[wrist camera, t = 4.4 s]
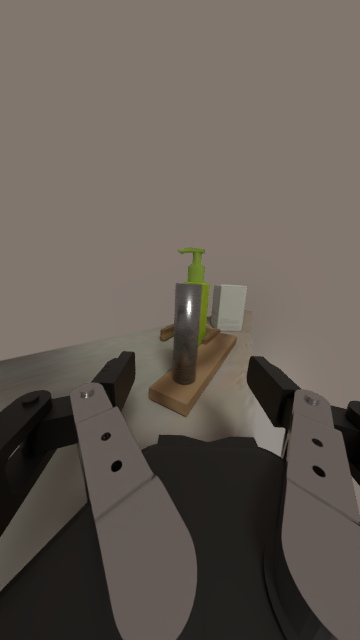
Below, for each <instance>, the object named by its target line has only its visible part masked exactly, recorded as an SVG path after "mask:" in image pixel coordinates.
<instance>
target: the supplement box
mask: <svg viewBox="0 0 360 640" xmlns="http://www.w3.org/2000/svg"><path fill="white" fill-rule="evenodd" d="M246 291H247V287H246V286H238V285H214V293H213V304H212V305H213V306H212V316H211V325H212V326H213V327H214V328H218V329H220V331H241V329H242V322H243V314H244V307H245V299H246Z"/></svg>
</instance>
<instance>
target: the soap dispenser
mask: <svg viewBox="0 0 360 640" xmlns="http://www.w3.org/2000/svg"><path fill="white" fill-rule="evenodd" d="M178 252H179V253H181V254H182V253H190V252H191V253H193V264H191V266H189V267H188V282H184V283H188V284H202V298H201V312H200V325H199V339H198V346H199V345H201V344H202V339H203V338H204V337H205V332H206V320H207V308H208V296H209V284H207V283H204V270H205V267H204V266H202V265H201V254H202V253H205V250H204V249H199V248H185V249H181V250H178Z"/></svg>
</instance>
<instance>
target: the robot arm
mask: <svg viewBox="0 0 360 640" xmlns="http://www.w3.org/2000/svg"><path fill="white" fill-rule="evenodd" d="M134 380H135V353H134V352H127V351H123V352H122V353H121V354H120V356H119V357H118V358H114V359H112V360H110V361H109V362H107V364H106V365H105V366H104V367H103V368H102V370H101V371H100V372H99V373H98V374H97V376H96V377H95V378H94V379H93V380H92V382H91V383H87V384H83V385H81V386H79V387H77V388H76V389H74V390H73V391H72V393H71V395H70V396H66V397H61V398H55V399H52V398H51V393H50V392H49V391H45V390H40V391H34V392H31V393H28V394H25V395H23V396H21V397H19V398H18V399H16V400H15V401H14V402H12V403H11V404H10V405H9V406H7V407H6V408H5V409H4V410H2V411H1V412H0V537H1V535H2V534H3V532H4V531H5V529H6V527H7V526H8V524H9V523H10V521H11V520H12V518H13V517H14V515H15V513H16V512H17V510H18V509H19V507H20V506H21V504H22V503H23V501H24V499H25V498H26V496H27V495H28V493H29V492H30V490H31V489H32V487H33V485H34V484H35V482H36V481H37V479H38V478H39V476H40V475H41V473H42V471H43V470H44V468H45V467H46V465H47V464H48V462H49V461H50V459H51V458H52V456H53V454H54V453H55V451H56V450H57V448H61V447H65V446H68V445H72V444H76V443H77V446H78V451H79V457H80V463H81V468H82V474H83V480H84V485H85V492H86V498H87V503H86V504H85V505H84V506H83V507H82V508H81V509H80V510H79V511H78V512H77V513H76V514H75V515H74V517H73V518H72V519H71V520H70V521H69V522H68V523H67V524H66V525H65V526H64V527H63V528H62V529H61V530H60V531H59V532H58V533H57V534H56V535H55V536H54V537H53V538H52V539H51V540H50V541H49V542H48V543H47V544H46V545H45V546H44V547H43V548H42V549H41V550H40V551H39V552H38V553H37V554H36V555H35V556H34V557H33V559H32V560H31V561H30V562H29V563H28V564H27V565H26V566H25V567H24V568H23V569H22V570H21V571H20V572H19V573H18V574H17V575H16V576H15V577H14V578H13V579H12V580H11V581H10V582H9V583H8V584H7V585H6V586H5V587H4V588H3V589H2V590H1V591H0V640H360V515H359V510H358V505H357V501H356V496H355V492H354V487H353V482H352V477H353V478H354V479H355V481H356V482H357V483H358V484H359V485H360V402H359V401H350V402H349V404H348V407H347V409H344V408H339V407H335V406H331V405H330V403H329V402H328V401H327V400H326V399H325V398H323V397H322V396H320V395H319V394H317V393H314V392H312V391H308V390H303V389H301V388H300V387H299V386H297V385H296V384H295V383H294V382H293V381H292V380H291V379H290V378H288V376H287V375H286V374H284V373H283V372H282V371H281V370H280V369H279V368H278V367H276V366H274V365H272V364H270V363H269V362H268V361H267V360H266V359H265V358H264V357H261V356H259V357H258V356H251V357H250V360H249V366H248V372H247V383H248V386H249V387H250V389H251V391H252V392H253V394H254V395H255V397H256V399H257V400H258V402H259V403H260V405H261V407H262V408H263V410H264V411H265V413H266V414H267V416H268V418H269V419H270V420H271V422H272V424H273V426H274V427H283V428H285V429H286V430H285V434H284V439H283V445H282V451H281V457H279V456H277V455H276V454H274V453H272V452H270V451H268V450H266V449H263V448H260V447H258V445H257V443H256V441H255V439H254V438H253V437H228V438H224V439H220V440H216V441H212V442H204V441H201V440H197V439H193V438H190V437H186V436H182V435H159V438H158V444H154V445H151V446H148V447H146V448H144V449H142V450H140V448H139V446H138V444H137V442H136V441H135V439H134V437H133V435H132V433H131V431H130V429H129V427H128V425H127V423H126V421H125V420H124V418H123V416H122V414H121V411H122V408H123V406H124V404H125V401H126V399H127V397H128V394H129V392H130V390H131V387H132V385H133V383H134ZM19 445H20V447H19V448H18V449H17V450H16V452H15V453H14V454H13V455H12V456H11V457H10V455H11V454H12V453H13V451H14V450H15V449H16V448H17V447H18V446H19ZM9 457H10V458H9ZM8 458H9V460H8ZM351 476H352V477H351Z"/></svg>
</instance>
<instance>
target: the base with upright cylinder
mask: <svg viewBox="0 0 360 640" xmlns="http://www.w3.org/2000/svg"><path fill="white" fill-rule="evenodd" d="M201 298H202V284H188V283H177V284H176V289H175V320H174V324H173V325H171V326H168V327H166V328H164V329H161V339H160V340H162V341H165V340H167V339H169V338H171V337H173V336H174V351H173V368H172V369H171V370H170V371H169V372H168V373H166V374H165V375H164V376H163V377H162V378H160V379H159V380H158V381H157V382H156V383H154V384H153V385H152V386H151V387H150V388H149V399H151V400H153V401H155V402H157V403H159V404H161V405H163V406H165V407H167V408H169V409H172V410H174V411H176V412H178V413H180V414H182V415H184V416H186V417H187V415H188V414H189V412H190V411H191V409H192V408H193V406H194V405H195V403H196V402H197V400H198V399H199V397H200V396H201V394H202V393H203V391H204V390H205V388H206V387H207V385H208V384H209V382H210V381H211V379H212V378H213V376H214V375H215V373H216V372H217V370H218V369H219V367H220V366H221V364H222V363H223V361H224V360H225V358H226V357H227V355H228V354H229V352H230V351H231V349H232V348H233V346H234V345H235V343H236V339H237V336H233V335H228V334H223V333H220V329H218V328H213V327H207V326H206V332H205V337H204V338H203V339H202V344H201V345H200V346H199V347H198V339H199V325H200V312H201Z"/></svg>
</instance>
